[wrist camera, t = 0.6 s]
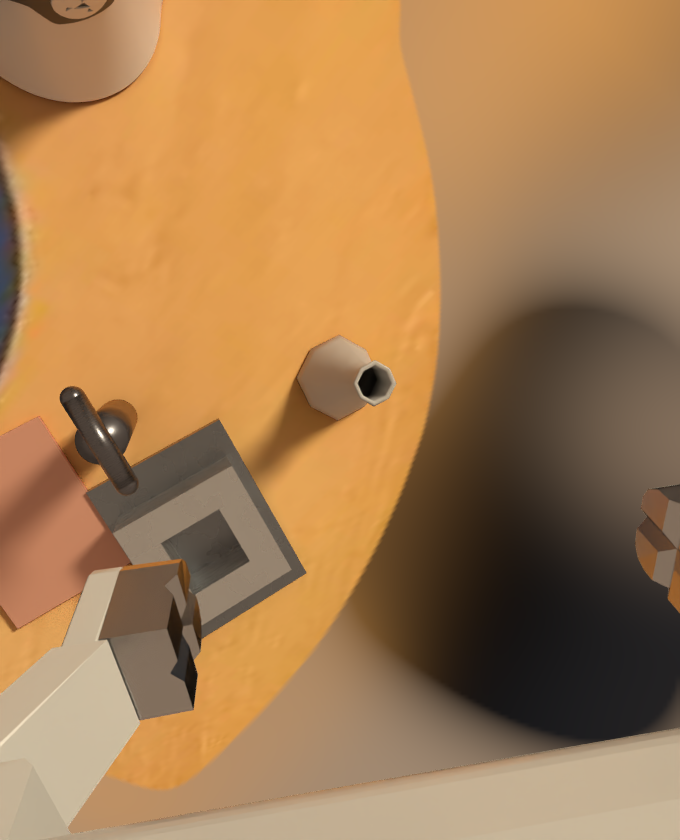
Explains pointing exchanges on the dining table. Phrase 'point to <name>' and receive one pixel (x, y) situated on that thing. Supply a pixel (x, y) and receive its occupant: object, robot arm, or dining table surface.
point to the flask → (343, 378)
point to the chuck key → (103, 435)
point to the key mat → (46, 526)
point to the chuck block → (203, 524)
